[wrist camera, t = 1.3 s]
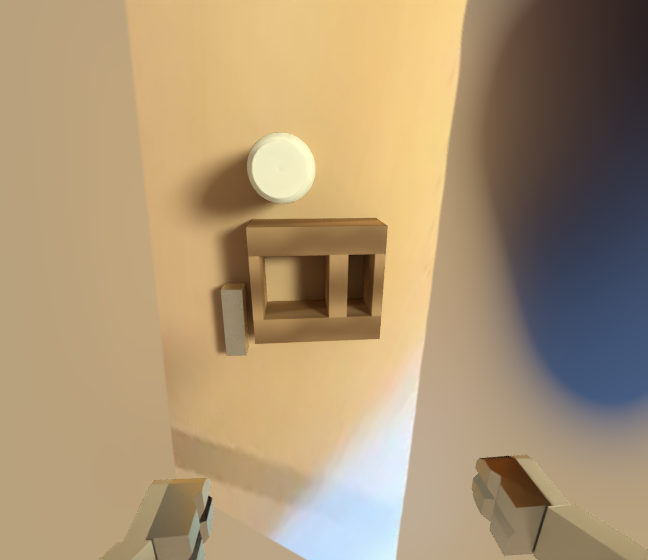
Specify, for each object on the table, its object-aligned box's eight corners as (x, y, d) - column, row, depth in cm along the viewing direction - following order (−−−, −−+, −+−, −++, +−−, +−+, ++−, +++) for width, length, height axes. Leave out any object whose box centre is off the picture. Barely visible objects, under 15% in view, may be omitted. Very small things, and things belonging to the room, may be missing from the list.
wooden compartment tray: (252, 219, 33) (245, 227, 29) (376, 218, 34) (387, 225, 30) (259, 323, 37) (255, 343, 33) (370, 319, 38) (379, 338, 34)
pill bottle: (320, 182, 32) (330, 189, 23) (273, 205, 33) (264, 221, 24) (296, 128, 30) (297, 113, 21) (246, 153, 31) (226, 149, 22)
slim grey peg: (225, 282, 35) (220, 289, 33) (245, 282, 36) (242, 289, 33) (230, 345, 38) (226, 355, 36) (249, 344, 38) (246, 355, 36)
